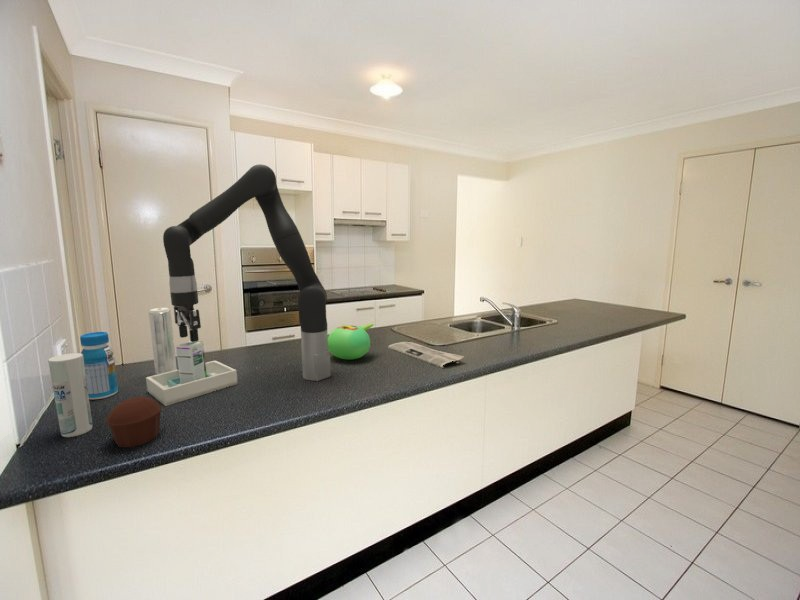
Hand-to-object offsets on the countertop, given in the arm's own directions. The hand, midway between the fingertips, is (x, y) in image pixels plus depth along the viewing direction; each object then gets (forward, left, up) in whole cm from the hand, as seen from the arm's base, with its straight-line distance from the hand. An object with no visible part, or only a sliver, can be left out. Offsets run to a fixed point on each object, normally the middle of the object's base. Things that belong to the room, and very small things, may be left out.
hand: (189, 339), depth 121 cm
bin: (0, 0, -17) cm, 17 cm away
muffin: (-22, +22, -17) cm, 36 cm away
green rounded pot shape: (-16, -55, -17) cm, 60 cm away
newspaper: (-38, -78, -18) cm, 89 cm away
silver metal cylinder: (+19, +2, -17) cm, 25 cm away
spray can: (-6, +31, -17) cm, 36 cm away
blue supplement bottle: (+17, +21, -17) cm, 32 cm away
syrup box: (0, 0, -16) cm, 16 cm away
